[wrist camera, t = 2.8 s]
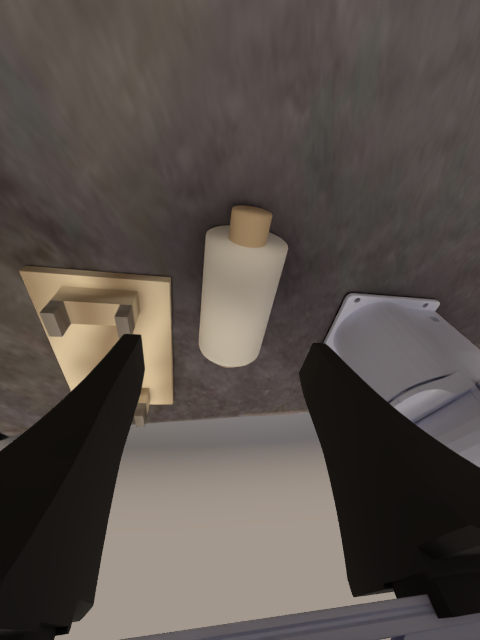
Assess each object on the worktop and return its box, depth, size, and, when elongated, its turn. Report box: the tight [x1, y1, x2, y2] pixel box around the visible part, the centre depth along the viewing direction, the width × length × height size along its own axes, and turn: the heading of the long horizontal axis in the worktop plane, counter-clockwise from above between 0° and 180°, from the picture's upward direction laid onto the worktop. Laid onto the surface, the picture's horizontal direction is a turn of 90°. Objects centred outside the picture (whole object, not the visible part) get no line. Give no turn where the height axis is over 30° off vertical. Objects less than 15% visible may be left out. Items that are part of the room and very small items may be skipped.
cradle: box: [19, 266, 174, 427], centre depth 22 cm, size 10×16×4 cm, turn 172°
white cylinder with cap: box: [199, 205, 288, 368], centre depth 18 cm, size 5×12×5 cm, turn 172°
